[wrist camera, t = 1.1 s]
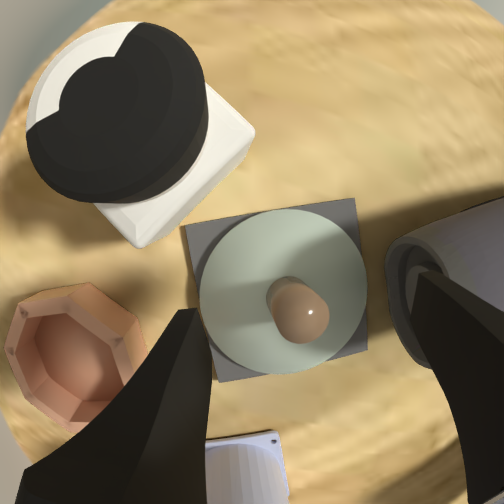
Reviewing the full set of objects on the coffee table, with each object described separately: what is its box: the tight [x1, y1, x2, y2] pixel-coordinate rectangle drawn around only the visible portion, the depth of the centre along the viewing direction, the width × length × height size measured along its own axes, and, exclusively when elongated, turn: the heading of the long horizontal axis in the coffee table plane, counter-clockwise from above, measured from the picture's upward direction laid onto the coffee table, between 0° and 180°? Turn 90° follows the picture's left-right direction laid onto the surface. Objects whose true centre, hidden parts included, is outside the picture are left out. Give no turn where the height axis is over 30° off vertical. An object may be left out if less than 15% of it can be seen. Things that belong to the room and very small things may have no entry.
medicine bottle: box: [26, 22, 255, 249], centre depth 13 cm, size 7×7×12 cm
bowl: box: [3, 282, 148, 433], centre depth 18 cm, size 10×10×4 cm
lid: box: [200, 209, 368, 374], centre depth 18 cm, size 11×11×5 cm
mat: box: [185, 198, 368, 383], centre depth 21 cm, size 11×11×1 cm
